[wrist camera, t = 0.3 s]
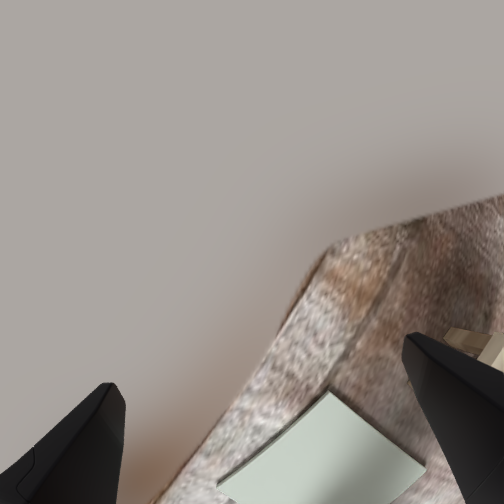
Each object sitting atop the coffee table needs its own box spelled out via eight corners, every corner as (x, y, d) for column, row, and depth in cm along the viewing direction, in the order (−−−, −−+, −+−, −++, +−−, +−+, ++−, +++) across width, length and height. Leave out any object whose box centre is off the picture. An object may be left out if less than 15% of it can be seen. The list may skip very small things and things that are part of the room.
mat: (424, 467, 21) (427, 470, 20) (323, 546, 20) (324, 549, 20) (328, 389, 22) (329, 392, 22) (217, 484, 22) (216, 488, 21)
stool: (485, 365, 22) (541, 383, 14) (442, 420, 21) (490, 455, 14) (451, 323, 22) (510, 334, 14) (403, 383, 22) (452, 417, 14)
